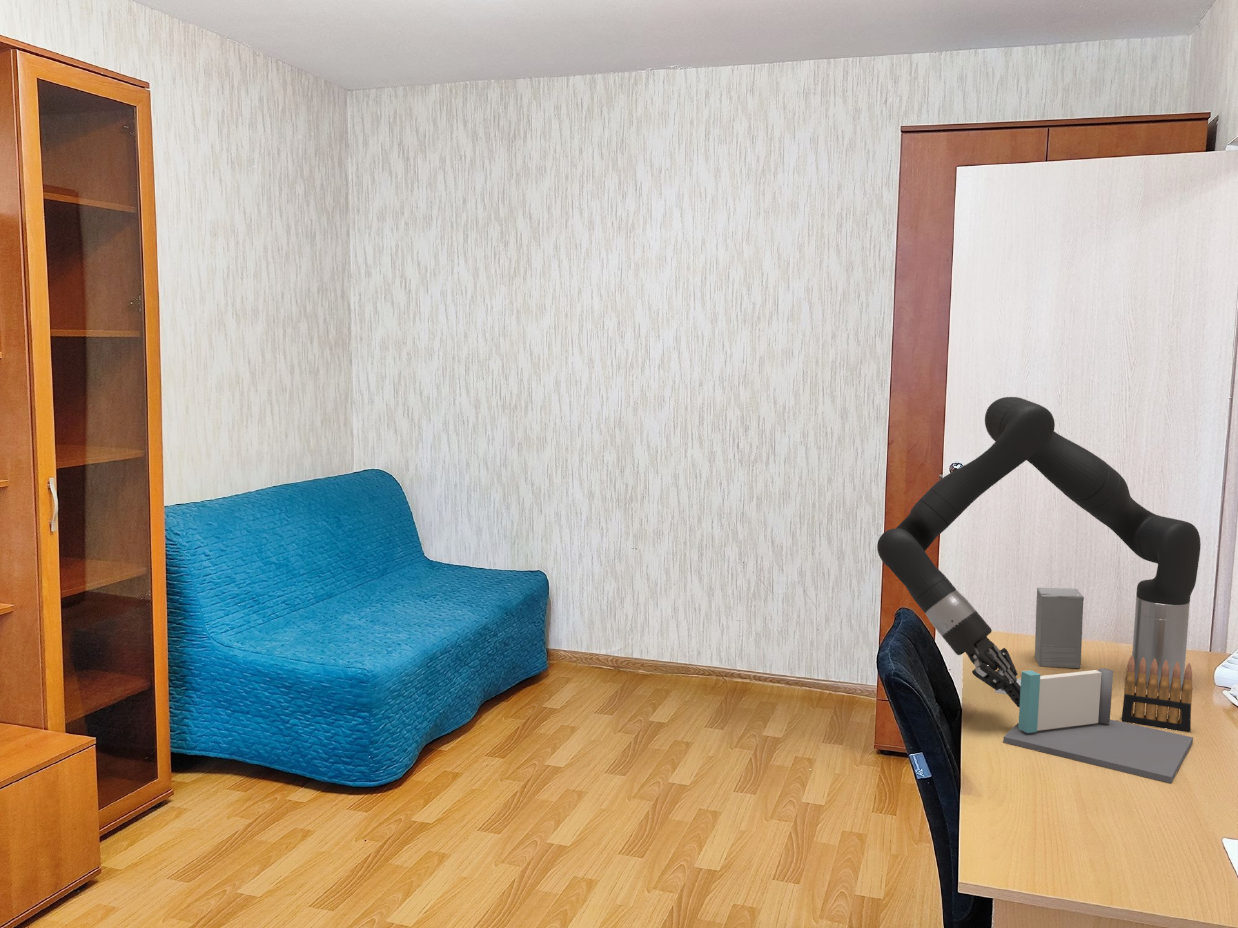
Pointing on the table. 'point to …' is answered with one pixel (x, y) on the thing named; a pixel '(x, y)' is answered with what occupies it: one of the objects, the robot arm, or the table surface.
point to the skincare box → (1059, 627)
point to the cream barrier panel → (1064, 699)
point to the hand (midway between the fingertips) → (1025, 703)
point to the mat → (1111, 747)
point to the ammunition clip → (1158, 697)
